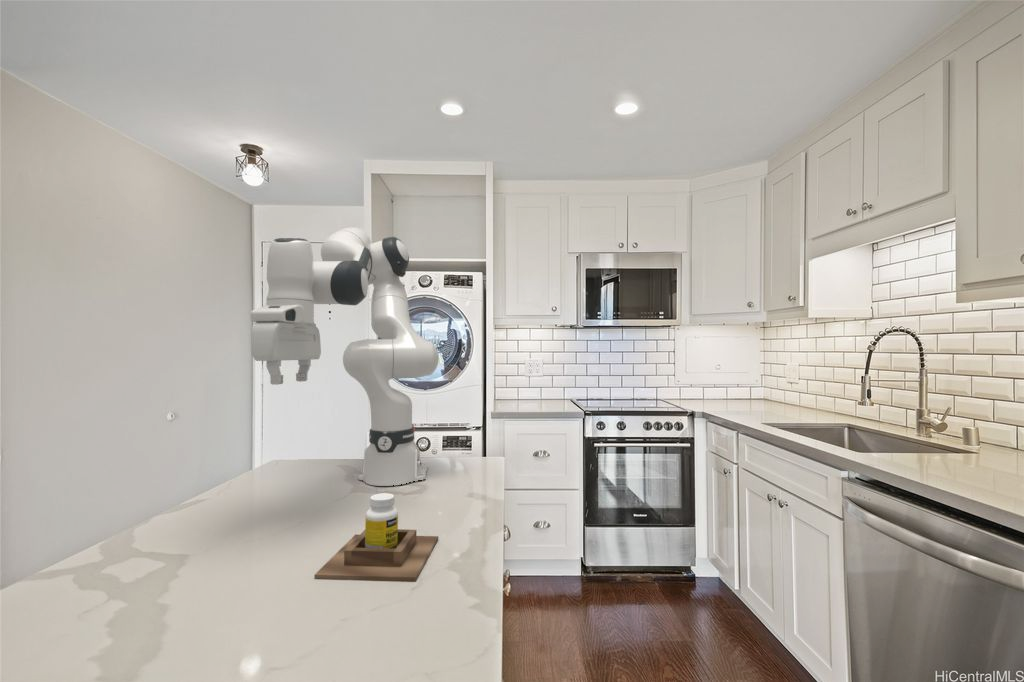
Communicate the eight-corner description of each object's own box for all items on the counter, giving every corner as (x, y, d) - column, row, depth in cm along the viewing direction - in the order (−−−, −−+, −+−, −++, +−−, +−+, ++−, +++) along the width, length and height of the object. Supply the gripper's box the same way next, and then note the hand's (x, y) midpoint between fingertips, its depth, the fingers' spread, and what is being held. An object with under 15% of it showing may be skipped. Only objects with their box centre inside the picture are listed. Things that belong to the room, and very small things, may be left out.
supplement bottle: (388, 562, 76) (389, 502, 77) (358, 559, 77) (359, 500, 78) (403, 548, 82) (403, 492, 82) (374, 546, 83) (375, 490, 83)
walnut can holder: (355, 537, 88) (355, 521, 88) (438, 539, 87) (438, 523, 87) (314, 578, 72) (314, 559, 72) (415, 581, 71) (415, 561, 71)
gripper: (301, 319, 106) (301, 379, 105) (244, 311, 85) (243, 386, 85) (328, 319, 105) (328, 379, 105) (277, 310, 85) (277, 386, 85)
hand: (289, 382), depth 95 cm, fingers open, 8 cm apart
